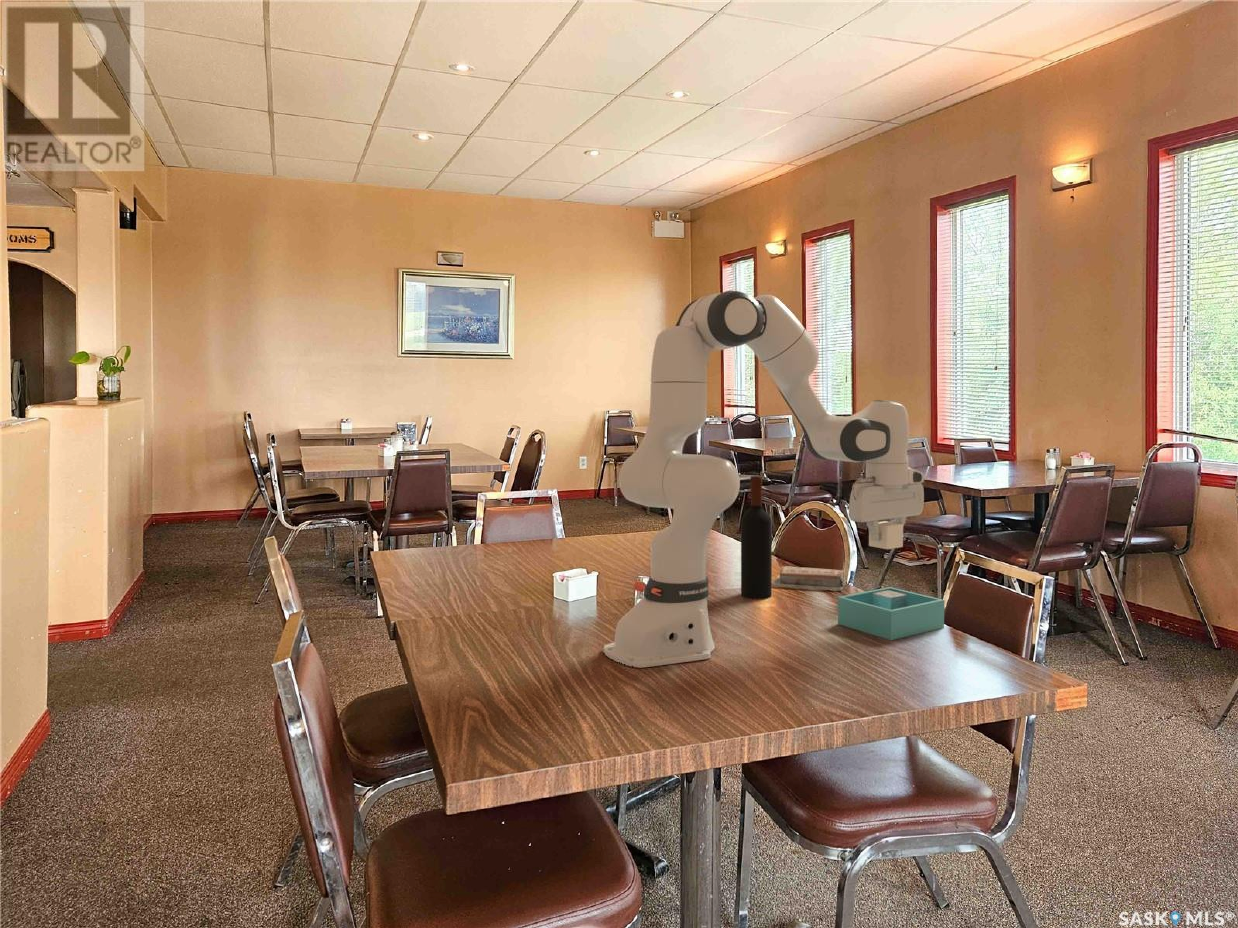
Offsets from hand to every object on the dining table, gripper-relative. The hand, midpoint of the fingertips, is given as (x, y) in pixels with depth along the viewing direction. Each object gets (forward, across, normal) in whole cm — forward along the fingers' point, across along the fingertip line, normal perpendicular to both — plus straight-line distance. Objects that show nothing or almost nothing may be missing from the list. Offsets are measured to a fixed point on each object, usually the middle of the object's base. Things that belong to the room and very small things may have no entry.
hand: (886, 539), depth 182 cm
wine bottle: (+19, -6, +35) cm, 40 cm away
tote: (+19, 0, -2) cm, 19 cm away
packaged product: (+19, +13, +36) cm, 43 cm away
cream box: (+2, 0, 0) cm, 2 cm away
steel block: (+18, -1, -2) cm, 18 cm away
